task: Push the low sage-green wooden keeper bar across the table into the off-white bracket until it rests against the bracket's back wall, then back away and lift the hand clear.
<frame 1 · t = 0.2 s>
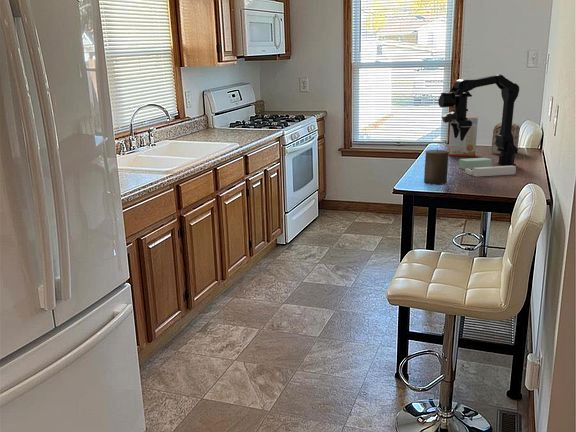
hand: (458, 139, 275), 14 cm above the table, fingers open, 9 cm apart
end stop: (493, 174, 261), on the table
cracker box: (461, 155, 310), on the table
decorative jar: (504, 153, 315), on the table
pillar candle: (435, 182, 248), on the table
keeper bar: (474, 168, 277), on the table
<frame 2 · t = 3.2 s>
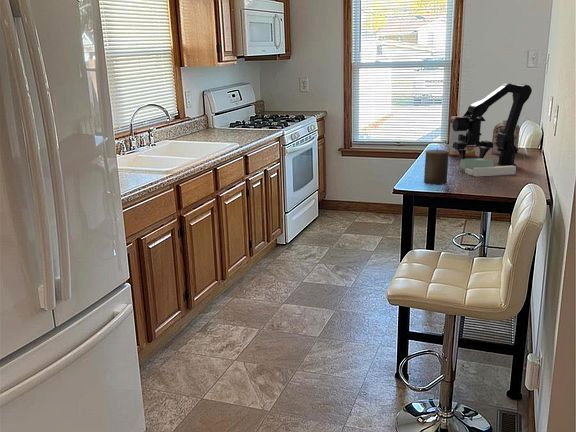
hand: (471, 162, 280), 2 cm above the table, fingers open, 9 cm apart
keeper bar: (476, 169, 276), on the table
everything else where it was.
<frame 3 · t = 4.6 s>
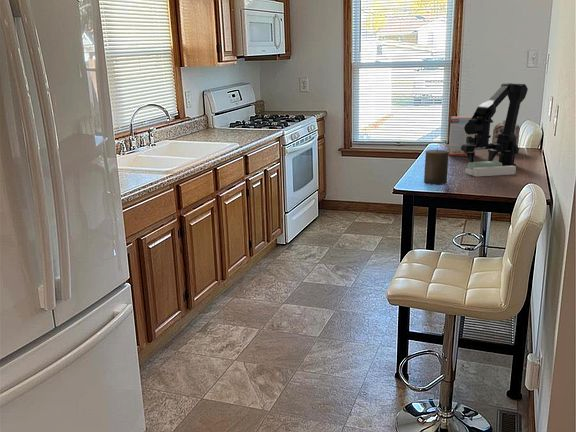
hand: (480, 165, 272), 2 cm above the table, fingers open, 9 cm apart
keeper bar: (484, 172, 269), on the table, touching gripper
everything else where it was.
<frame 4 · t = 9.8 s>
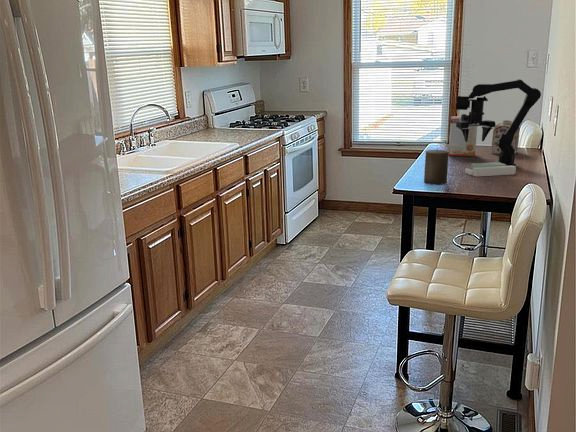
hand: (474, 141, 285), 11 cm above the table, fingers open, 9 cm apart
keeper bar: (487, 173, 266), on the table
everything else where it was.
at the end: keeper bar 0.6 cm from the target spot, on the table; keeper bar tilted 0°; keeper bar moved 12.0 cm from its start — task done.
